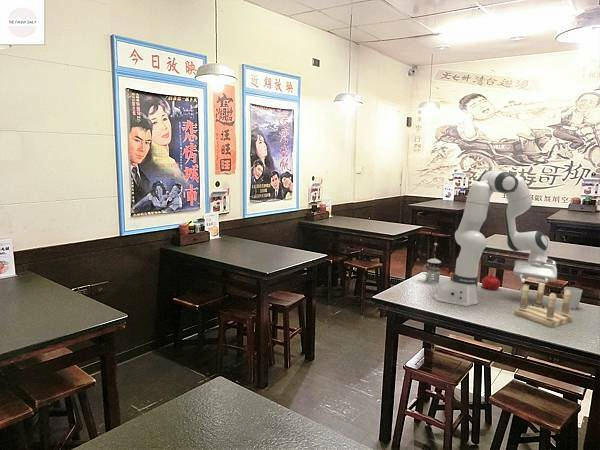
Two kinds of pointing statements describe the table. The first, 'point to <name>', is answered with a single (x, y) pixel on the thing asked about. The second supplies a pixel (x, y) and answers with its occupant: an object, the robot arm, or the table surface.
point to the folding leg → (540, 292)
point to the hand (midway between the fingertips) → (532, 284)
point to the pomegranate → (490, 282)
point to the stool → (545, 310)
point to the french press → (433, 272)
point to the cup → (574, 296)
